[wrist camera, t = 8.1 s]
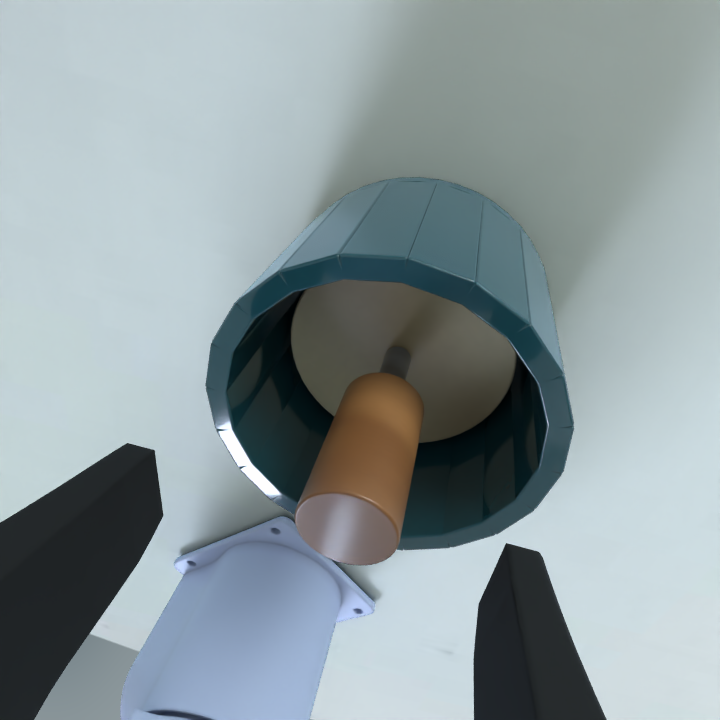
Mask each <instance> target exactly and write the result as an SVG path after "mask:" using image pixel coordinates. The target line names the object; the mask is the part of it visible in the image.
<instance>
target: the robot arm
mask: <svg viewBox="0 0 720 720" xmlns="http://www.w3.org/2000/svg"><path fill="white" fill-rule="evenodd" d="M162 517H163V510H162V502H161V495H160V488H159V480H158V473H157V466H156V458H155V451H154V450H151V449H148V448H144V447H140V446H136V445H132V444H129V443H127V444H125V445H124V446H122V447H120V448H119V449H117V450H115V451H114V452H112V453H111V454H109V455H107V456H106V457H104V458H103V459H101V460H100V461H98V462H97V463H95V464H93V465H92V466H90V467H89V468H87V469H86V470H84V471H83V472H81V473H79V474H78V475H76V476H75V477H73V478H72V479H70V480H68V481H67V482H65V483H64V484H62V485H61V486H59V487H58V488H56V489H54V490H53V491H51V492H50V493H48V494H46V495H45V496H43V497H42V498H40V499H38V500H37V501H35V502H33V503H32V504H30V505H29V506H27V507H25V508H24V509H22V510H21V511H19V512H17V513H16V514H14V515H12V516H11V517H9V518H7V519H6V520H4V521H2V522H1V523H0V720H34V719H35V717H36V715H37V714H38V712H39V710H40V708H41V707H42V705H43V703H44V701H45V700H46V698H47V696H48V694H49V693H50V691H51V689H52V688H53V686H54V685H55V683H56V682H57V680H58V679H59V677H60V675H61V674H62V672H63V671H64V669H65V668H66V666H67V665H68V663H69V662H70V660H71V659H72V658H73V656H74V655H75V653H76V652H77V650H78V649H79V648H80V646H81V645H82V643H83V642H84V640H85V639H86V637H87V636H88V635H89V633H90V632H91V630H92V629H93V628H94V626H95V625H96V623H97V622H98V620H99V619H100V617H101V616H102V615H103V613H104V612H105V610H106V609H107V607H108V606H109V605H110V603H111V602H112V600H113V599H114V597H115V596H116V594H117V593H118V592H119V590H120V589H121V587H122V586H123V584H124V583H125V581H126V580H127V578H128V577H129V576H130V574H131V573H132V571H133V570H134V568H135V567H136V565H137V564H138V562H139V561H140V559H141V557H142V555H143V553H144V551H145V550H146V548H147V546H148V544H149V542H150V541H151V539H152V537H153V535H154V533H155V531H156V529H157V527H158V525H159V523H160V521H161V519H162ZM174 567H175V568H176V569H177V570H178V571H179V572H180V573H181V574H183V575H184V576H183V577H182V579H181V581H180V583H179V584H178V586H177V588H176V590H175V591H174V593H173V595H172V597H171V598H170V600H169V602H168V603H167V605H166V607H165V609H164V610H163V612H162V614H161V616H160V617H159V619H158V621H157V623H156V624H155V626H154V628H153V630H152V631H151V633H150V635H149V637H148V638H147V640H146V642H145V644H144V645H143V647H142V649H141V650H140V652H139V654H138V656H137V657H136V659H135V661H134V663H133V665H132V666H131V668H130V671H129V673H128V675H127V677H126V680H125V683H124V687H123V692H122V698H121V711H120V712H121V720H310V716H311V712H312V709H313V705H314V701H315V698H316V694H317V690H318V687H319V683H320V679H321V676H322V672H323V668H324V665H325V661H326V657H327V654H328V650H329V646H330V643H331V639H332V635H333V632H334V628H335V624H336V622H340V621H344V620H348V619H352V618H357V617H361V616H365V615H369V614H372V613H373V612H374V610H375V603H374V602H373V601H372V600H371V599H370V598H369V597H368V596H367V595H366V594H365V593H364V592H363V591H362V590H361V589H360V588H359V587H358V586H357V585H356V584H355V583H354V582H353V581H352V580H351V579H350V578H349V577H348V576H347V575H346V574H345V573H344V572H343V571H342V570H341V569H340V568H339V567H338V566H337V565H336V564H335V563H334V562H333V561H332V560H331V559H329V558H327V557H325V556H323V555H321V554H320V553H318V552H316V551H315V550H314V549H312V548H311V547H310V546H309V545H308V544H307V543H306V542H305V541H304V540H303V539H302V537H301V536H300V534H299V532H298V531H297V528H296V525H295V523H294V522H293V521H292V520H291V519H289V518H287V517H283V516H281V517H277V518H275V519H272V520H270V521H267V522H265V523H262V524H260V525H257V526H255V527H252V528H250V529H247V530H245V531H242V532H240V533H237V534H235V535H232V536H230V537H227V538H225V539H222V540H220V541H217V542H215V543H213V544H210V545H208V546H205V547H203V548H200V549H198V550H195V551H193V552H190V553H188V554H185V555H183V556H180V557H178V558H177V559H176V560H175V562H174ZM474 720H606V717H605V715H604V713H603V711H602V708H601V706H600V704H599V702H598V700H597V697H596V695H595V693H594V691H593V688H592V686H591V683H590V681H589V679H588V676H587V674H586V672H585V669H584V667H583V665H582V662H581V660H580V657H579V655H578V653H577V650H576V648H575V645H574V643H573V640H572V638H571V635H570V633H569V630H568V628H567V625H566V622H565V620H564V617H563V614H562V612H561V609H560V606H559V604H558V601H557V598H556V595H555V593H554V590H553V587H552V584H551V581H550V578H549V575H548V572H547V569H546V566H545V563H544V560H543V557H542V556H541V554H540V553H539V552H537V551H534V550H530V549H526V548H522V547H518V546H515V545H511V544H507V543H506V545H505V547H504V549H503V552H502V554H501V556H500V558H499V560H498V563H497V565H496V567H495V569H494V571H493V574H492V576H491V578H490V580H489V582H488V585H487V587H486V589H485V591H484V593H483V596H482V598H481V600H480V602H479V607H478V617H477V627H476V637H475V649H474Z"/></svg>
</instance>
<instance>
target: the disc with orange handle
mask: <svg viewBox="0 0 720 720" xmlns="http://www.w3.org/2000/svg"><path fill="white" fill-rule="evenodd" d="M291 346H292V352H293V357H294V361H295V364H296V367H297V370H298V372H299V374H300V376H301V378H302V380H303V382H304V384H305V385H306V387H307V388H308V390H309V391H310V393H311V394H312V395H313V396H314V398H315V399H316V400H317V401H318V402H319V403H320V404H321V405H322V406H323V407H324V408H325V409H326V410H327V411H328V412H329V413H331V414H332V415H333V416H334V419H333V421H332V424H331V426H330V429H329V431H328V433H327V436H326V438H325V440H324V443H323V445H322V448H321V450H320V452H319V455H318V457H317V459H316V462H315V464H314V467H313V469H312V471H311V474H310V476H309V479H308V481H307V483H306V486H305V488H304V490H303V493H302V495H301V498H300V500H299V502H298V505H297V507H296V510H295V525H296V528H297V531H298V532H299V534H300V536H301V537H302V539H303V540H304V541H305V542H306V543H307V544H308V545H309V546H310V547H311V548H312V549H314V550H315V551H316V552H318V553H320V554H321V555H323V556H325V557H327V558H329V559H332V560H334V561H337V562H340V563H345V564H350V565H372V564H376V563H379V562H382V561H384V560H386V559H387V558H389V557H390V556H391V555H392V554H393V553H394V552H395V551H396V549H397V548H398V545H399V542H400V537H401V532H402V527H403V521H404V516H405V511H406V506H407V501H408V495H409V490H410V485H411V480H412V474H413V469H414V464H415V459H416V454H417V448H418V443H424V442H433V441H438V440H443V439H447V438H450V437H453V436H456V435H459V434H461V433H463V432H465V431H467V430H469V429H471V428H473V427H474V426H476V425H477V424H479V423H480V422H482V421H483V420H484V419H485V418H487V417H488V416H489V415H490V414H491V413H492V412H493V411H494V410H495V409H496V407H497V406H498V405H499V404H500V403H501V401H502V400H503V398H504V397H505V395H506V394H507V392H508V389H509V387H510V385H511V383H512V380H513V377H514V373H515V369H516V361H517V353H516V352H515V350H514V349H513V347H512V346H511V344H510V343H509V341H508V340H507V338H505V337H504V336H503V335H501V334H500V333H499V332H497V331H496V330H495V329H493V328H492V327H491V326H489V325H488V324H487V323H485V322H484V321H483V320H481V319H480V318H479V317H477V316H476V315H475V314H473V313H472V312H471V311H469V310H468V309H467V308H465V307H464V306H463V305H461V304H458V303H456V302H453V301H450V300H447V299H445V298H442V297H439V296H436V295H434V294H431V293H428V292H425V291H423V290H420V289H417V288H414V287H412V286H409V285H406V284H403V283H394V282H377V281H360V280H341V281H337V282H333V283H329V284H325V285H321V286H318V287H314V288H310V289H306V290H304V292H303V293H302V295H301V297H300V299H299V301H298V303H297V306H296V308H295V312H294V315H293V319H292V326H291Z"/></svg>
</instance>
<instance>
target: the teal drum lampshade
mask: <svg viewBox="0 0 720 720" xmlns="http://www.w3.org/2000/svg"><path fill="white" fill-rule="evenodd" d="M341 280H360V281H377V282H394V283H403V284H406V285H409V286H412V287H414V288H417V289H420V290H423V291H425V292H428V293H431V294H434V295H436V296H439V297H442V298H445V299H447V300H450V301H453V302H456V303H458V304H461V305H463V306H464V307H465V308H467V309H468V310H469V311H471V312H472V313H473V314H475V315H476V316H477V317H479V318H480V319H481V320H483V321H484V322H485V323H487V324H488V325H489V326H491V327H492V328H493V329H495V330H496V331H497V332H499V333H500V334H501V335H503V336H504V337H505V338H507V340H508V341H509V343H510V344H511V346H512V347H513V349H514V350H515V352H516V353H517V361H516V369H515V373H514V377H513V380H512V383H511V385H510V387H509V389H508V392H507V394H506V395H505V397H504V398H503V400H502V401H501V403H500V404H499V405H498V406H497V407H496V409H495V410H494V411H493V412H492V413H491V414H490V415H489V416H488V417H487V418H485V419H484V420H483V421H482V422H480V423H479V424H477V425H476V426H474V427H473V428H471V429H469V430H467V431H465V432H463V433H461V434H459V435H456V436H453V437H450V438H447V439H443V440H438V441H433V442H424V443H418V448H417V454H416V459H415V464H414V469H413V474H412V480H411V485H410V490H409V495H408V501H407V506H406V511H405V516H404V521H403V527H402V532H401V537H400V542H399V545H398V548H397V550H403V549H404V550H419V549H441V548H450V547H456V546H460V545H463V544H466V543H470V542H473V541H477V540H480V539H484V538H487V537H490V536H494V535H495V534H499V533H500V532H502V531H503V530H505V529H506V528H508V527H509V526H511V525H513V524H514V523H516V522H517V521H519V520H520V519H522V518H524V517H525V516H527V515H528V514H530V513H531V512H533V511H534V509H536V508H537V506H538V505H539V504H540V503H541V501H542V500H543V499H544V497H545V496H546V495H547V493H548V492H549V491H550V489H551V488H552V487H553V485H554V484H555V483H556V481H557V480H558V479H559V477H560V476H561V475H562V473H563V471H564V468H565V464H566V460H567V455H568V451H569V447H570V443H571V439H572V435H573V431H574V421H573V415H572V410H571V405H570V400H569V394H568V389H567V384H566V379H565V373H564V368H563V363H562V358H561V352H560V347H559V342H558V337H557V331H556V326H555V321H554V316H553V310H552V305H551V300H550V295H549V289H548V284H547V279H546V274H545V269H544V267H543V264H542V262H541V259H540V257H539V255H538V253H537V251H536V249H535V247H534V245H533V243H532V241H531V240H530V238H529V237H528V236H527V234H526V233H525V231H524V230H523V229H522V227H521V226H520V225H519V224H518V223H517V222H516V221H515V220H514V219H513V218H512V217H511V216H510V215H509V214H508V213H507V212H506V211H505V210H503V209H502V208H501V207H500V206H498V205H497V204H496V203H494V202H493V201H491V200H490V199H488V198H486V197H484V196H483V195H481V194H479V193H478V192H476V191H473V190H471V189H468V188H466V187H463V186H461V185H458V184H455V183H451V182H447V181H443V180H439V179H430V178H421V177H410V178H396V179H389V180H383V181H379V182H376V183H373V184H369V185H366V186H363V187H361V188H359V189H357V190H355V191H353V192H351V193H348V194H347V195H345V196H344V197H342V198H341V199H339V200H338V201H336V202H335V203H333V204H332V205H331V206H330V207H329V208H328V209H326V210H325V211H324V212H323V213H322V214H321V215H319V216H318V217H317V218H316V219H314V220H313V221H312V222H311V223H310V224H309V225H308V226H307V228H306V229H305V230H304V231H303V232H302V233H301V234H300V235H299V236H298V237H297V238H296V239H295V240H294V241H293V242H292V243H291V244H290V245H289V246H288V247H287V248H286V250H285V251H284V252H283V253H282V254H281V255H280V256H279V257H278V258H277V259H276V260H275V261H274V262H273V263H272V264H271V265H270V266H269V267H268V268H267V269H266V270H265V272H264V273H263V274H262V275H261V276H260V277H259V278H258V279H257V280H256V281H255V282H254V283H253V284H252V285H251V286H250V287H249V288H248V289H247V290H246V291H245V293H244V294H243V295H242V296H241V297H240V298H239V299H238V300H237V301H236V302H235V303H234V305H233V306H232V308H231V310H230V311H229V313H228V315H227V317H226V318H225V320H224V322H223V323H222V325H221V327H220V328H219V330H218V332H217V333H216V335H215V337H214V338H213V341H212V343H211V347H210V355H209V363H208V370H207V378H206V391H207V395H208V399H209V403H210V408H211V412H212V416H213V420H214V424H215V428H216V429H217V432H218V434H219V436H220V438H221V439H222V441H223V443H224V444H225V446H226V448H227V449H228V451H229V453H230V454H231V456H232V458H233V459H234V461H235V463H236V464H237V466H238V467H239V469H240V470H241V471H242V472H243V473H244V474H245V475H246V476H247V477H248V478H249V479H250V480H251V481H252V482H253V483H254V484H255V485H256V486H257V487H258V488H259V489H260V490H261V491H262V492H263V493H264V494H265V495H266V496H267V497H268V498H269V499H271V500H272V501H273V502H275V503H276V504H278V505H279V506H281V507H283V508H284V509H286V510H287V511H289V512H291V513H292V514H294V515H295V510H296V507H297V505H298V502H299V500H300V498H301V495H302V493H303V490H304V488H305V486H306V483H307V481H308V479H309V476H310V474H311V471H312V469H313V467H314V464H315V462H316V459H317V457H318V455H319V452H320V450H321V448H322V445H323V443H324V440H325V438H326V436H327V433H328V431H329V429H330V426H331V424H332V421H333V419H334V416H333V415H332V414H331V413H329V412H328V411H327V410H326V409H325V408H324V407H323V406H322V405H321V404H320V403H319V402H318V401H317V400H316V399H315V398H314V396H313V395H312V394H311V393H310V391H309V390H308V388H307V387H306V385H305V384H304V382H303V380H302V378H301V376H300V374H299V372H298V370H297V367H296V364H295V361H294V357H293V352H292V346H291V326H292V319H293V315H294V312H295V308H296V306H297V303H298V301H299V299H300V297H301V295H302V293H303V292H304V290H306V289H310V288H314V287H318V286H321V285H325V284H329V283H333V282H337V281H341Z"/></svg>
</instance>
